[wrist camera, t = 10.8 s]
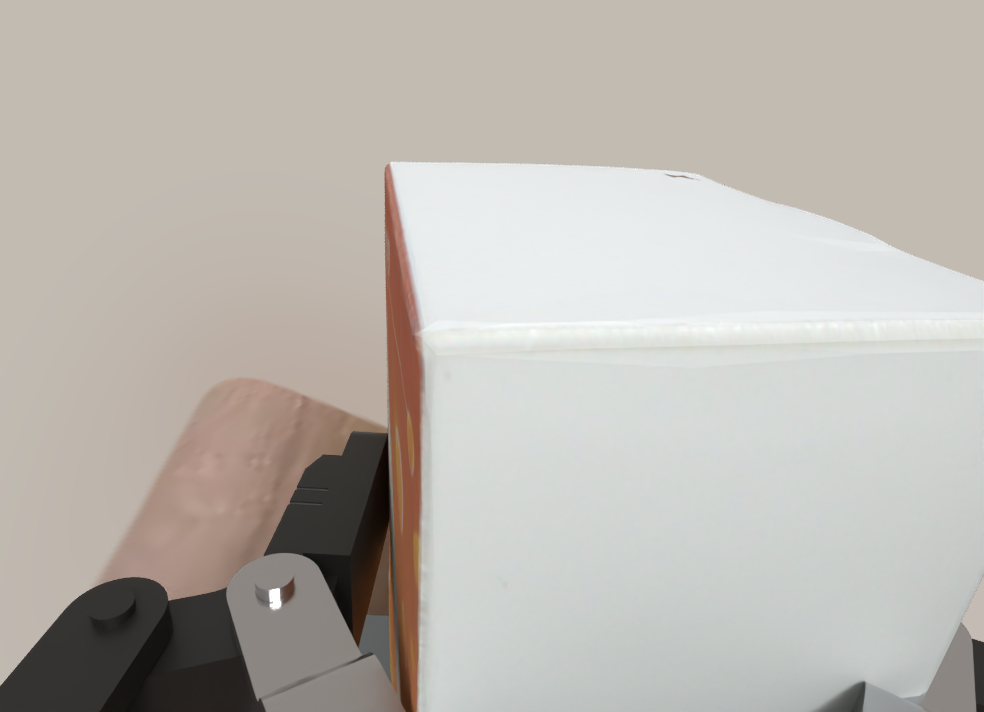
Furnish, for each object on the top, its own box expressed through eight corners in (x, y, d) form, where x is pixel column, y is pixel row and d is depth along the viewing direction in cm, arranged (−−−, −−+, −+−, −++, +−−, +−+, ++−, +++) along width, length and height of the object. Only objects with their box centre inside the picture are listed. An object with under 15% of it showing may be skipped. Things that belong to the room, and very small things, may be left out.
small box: (386, 667, 17) (381, 154, 12) (614, 643, 18) (706, 167, 13) (401, 1118, 10) (407, 321, 4) (778, 1031, 11) (1144, 314, 6)
